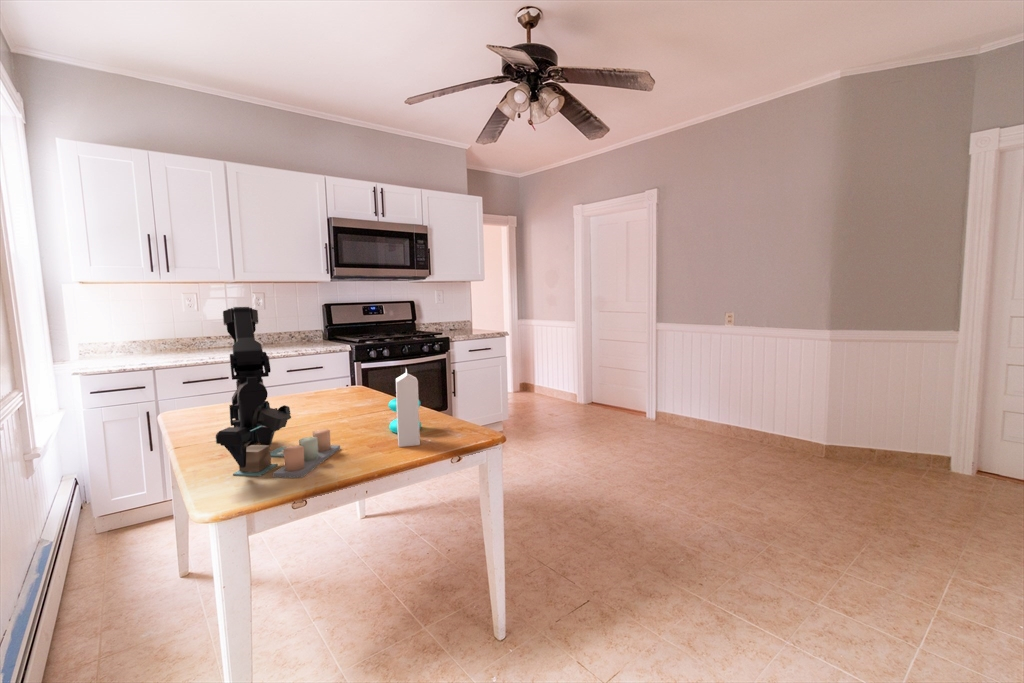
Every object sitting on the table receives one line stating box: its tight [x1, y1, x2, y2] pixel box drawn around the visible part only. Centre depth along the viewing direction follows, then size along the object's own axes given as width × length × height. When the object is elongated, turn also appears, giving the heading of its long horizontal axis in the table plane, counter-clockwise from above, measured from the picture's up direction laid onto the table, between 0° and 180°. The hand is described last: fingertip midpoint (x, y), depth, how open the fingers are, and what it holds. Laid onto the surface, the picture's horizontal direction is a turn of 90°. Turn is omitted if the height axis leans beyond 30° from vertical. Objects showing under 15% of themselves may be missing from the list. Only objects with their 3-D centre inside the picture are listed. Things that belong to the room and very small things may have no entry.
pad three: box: [270, 446, 287, 458], centre depth 129 cm, size 7×7×1 cm
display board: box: [272, 428, 341, 479], centre depth 121 cm, size 7×21×6 cm, turn 176°
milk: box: [395, 368, 421, 448], centre depth 135 cm, size 6×6×22 cm
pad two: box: [232, 463, 278, 477], centre depth 116 cm, size 7×7×1 cm
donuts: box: [388, 398, 422, 434], centre depth 149 cm, size 10×10×10 cm
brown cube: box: [238, 444, 272, 472], centre depth 116 cm, size 5×5×5 cm
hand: (255, 460), depth 116 cm, fingers open, 9 cm apart
